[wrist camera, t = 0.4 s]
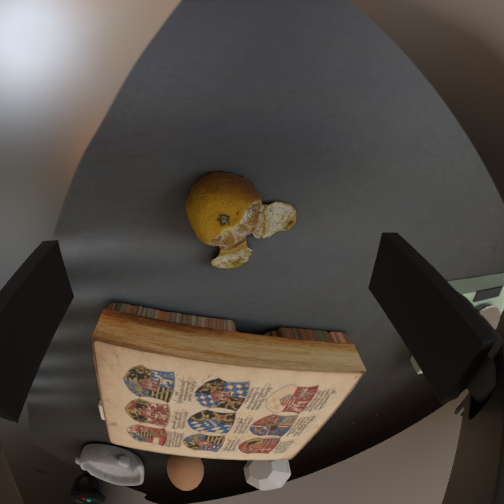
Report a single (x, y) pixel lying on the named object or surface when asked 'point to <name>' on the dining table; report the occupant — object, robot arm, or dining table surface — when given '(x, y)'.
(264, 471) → the chicken leg
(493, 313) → the scale pan
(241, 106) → the dining table surface
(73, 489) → the controller
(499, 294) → the scale
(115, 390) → the book
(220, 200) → the fruit
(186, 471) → the egg
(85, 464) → the dish
